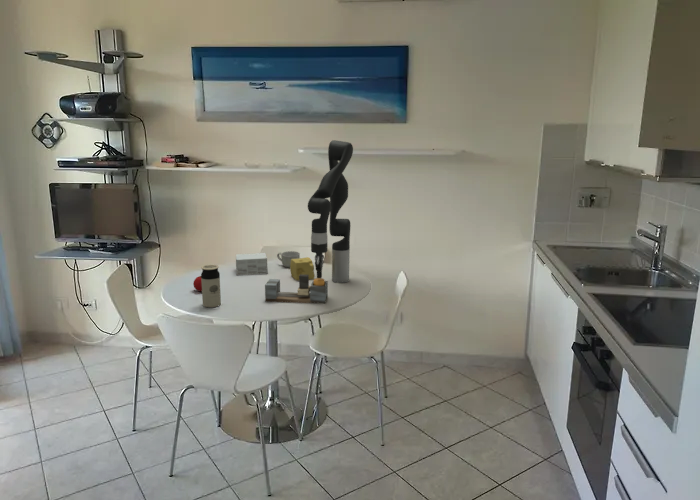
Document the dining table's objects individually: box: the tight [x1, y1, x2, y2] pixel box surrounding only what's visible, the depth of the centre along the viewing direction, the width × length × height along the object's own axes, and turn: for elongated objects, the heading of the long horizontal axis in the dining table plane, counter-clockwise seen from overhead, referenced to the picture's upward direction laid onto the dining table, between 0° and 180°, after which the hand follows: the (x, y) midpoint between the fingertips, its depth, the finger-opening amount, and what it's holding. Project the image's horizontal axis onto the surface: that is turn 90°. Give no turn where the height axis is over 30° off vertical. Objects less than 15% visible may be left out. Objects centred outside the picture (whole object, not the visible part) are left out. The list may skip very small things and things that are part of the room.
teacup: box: [276, 250, 301, 269], centre depth 301 cm, size 14×11×8 cm
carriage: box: [297, 274, 311, 295], centre depth 242 cm, size 7×5×8 cm
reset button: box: [313, 277, 325, 286], centre depth 242 cm, size 5×5×4 cm
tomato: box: [193, 275, 202, 293], centre depth 254 cm, size 9×9×8 cm
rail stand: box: [264, 278, 329, 305], centre depth 243 cm, size 10×28×8 cm, turn 86°
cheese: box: [289, 256, 316, 282], centre depth 278 cm, size 10×11×10 cm
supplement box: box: [235, 252, 268, 276], centre depth 288 cm, size 17×13×9 cm
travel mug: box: [200, 264, 222, 308], centre depth 233 cm, size 8×8×18 cm
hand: (319, 277), depth 241 cm, fingers closed
